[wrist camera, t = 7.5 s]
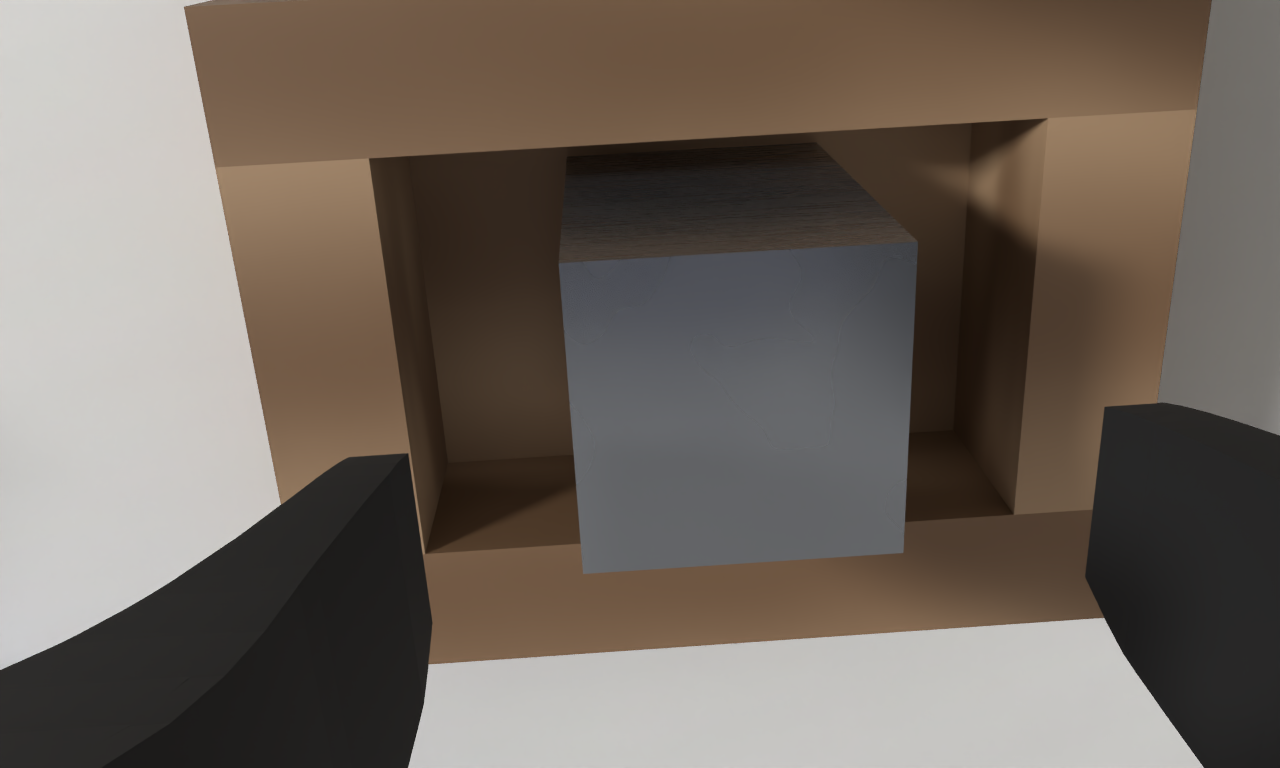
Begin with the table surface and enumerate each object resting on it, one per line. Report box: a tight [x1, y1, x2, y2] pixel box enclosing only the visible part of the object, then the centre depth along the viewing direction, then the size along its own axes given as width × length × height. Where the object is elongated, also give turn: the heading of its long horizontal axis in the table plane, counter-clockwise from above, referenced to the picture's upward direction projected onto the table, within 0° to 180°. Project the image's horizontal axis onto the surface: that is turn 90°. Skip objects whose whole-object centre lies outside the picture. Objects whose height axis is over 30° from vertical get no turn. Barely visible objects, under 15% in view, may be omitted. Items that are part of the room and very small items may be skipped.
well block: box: [184, 0, 1212, 664], centre depth 18 cm, size 10×13×4 cm
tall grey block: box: [559, 142, 918, 574], centre depth 16 cm, size 4×4×6 cm
